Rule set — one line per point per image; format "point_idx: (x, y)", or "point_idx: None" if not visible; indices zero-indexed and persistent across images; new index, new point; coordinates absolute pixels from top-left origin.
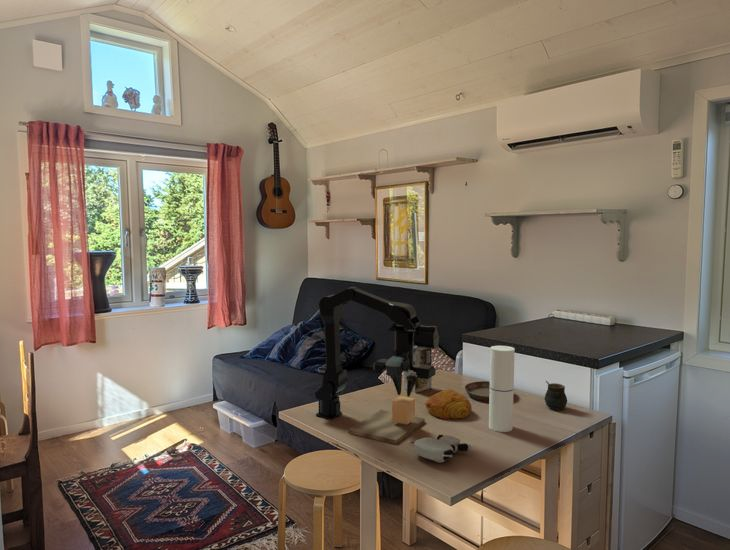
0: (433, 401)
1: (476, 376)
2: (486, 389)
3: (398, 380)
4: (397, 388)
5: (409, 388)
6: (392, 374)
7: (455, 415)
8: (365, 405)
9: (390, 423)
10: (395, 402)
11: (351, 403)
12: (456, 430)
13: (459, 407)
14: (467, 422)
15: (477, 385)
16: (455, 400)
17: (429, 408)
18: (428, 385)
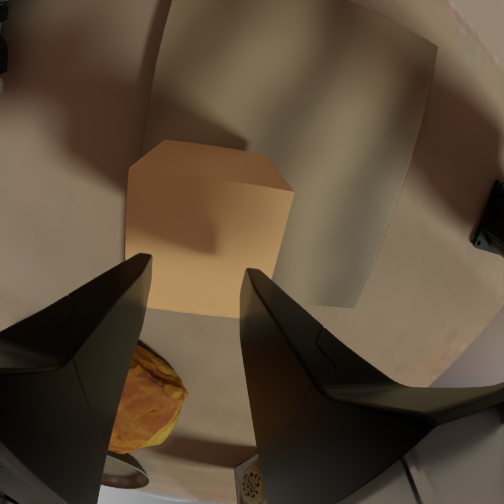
0: (134, 391)
1: (172, 499)
2: (117, 472)
3: (283, 401)
4: (272, 300)
5: (86, 290)
6: (449, 431)
7: None
8: (403, 338)
9: (275, 160)
10: (259, 182)
11: (440, 332)
12: (9, 237)
13: None
14: (22, 317)
15: (136, 481)
16: None
17: (153, 366)
18: (239, 472)
